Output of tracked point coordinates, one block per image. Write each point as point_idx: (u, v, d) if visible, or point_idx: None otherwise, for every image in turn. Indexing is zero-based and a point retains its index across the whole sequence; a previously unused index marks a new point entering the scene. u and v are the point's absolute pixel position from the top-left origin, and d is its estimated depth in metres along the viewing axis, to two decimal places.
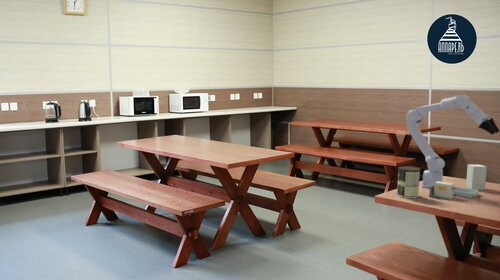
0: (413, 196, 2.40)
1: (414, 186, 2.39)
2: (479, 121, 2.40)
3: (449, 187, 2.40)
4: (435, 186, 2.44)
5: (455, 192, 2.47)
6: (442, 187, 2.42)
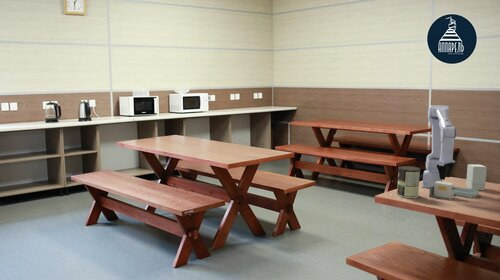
0: (413, 196, 2.40)
1: (414, 186, 2.39)
2: (441, 163, 2.37)
3: (449, 187, 2.40)
4: (435, 186, 2.44)
5: (455, 192, 2.47)
6: (442, 188, 2.42)
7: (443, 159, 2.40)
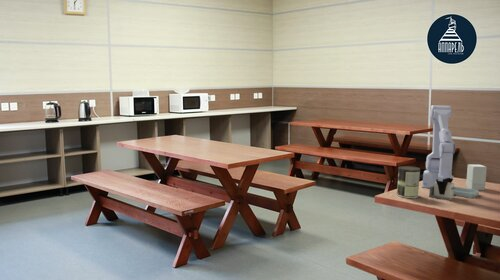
0: (413, 196, 2.40)
1: (414, 186, 2.39)
2: (440, 178, 2.38)
3: (449, 187, 2.40)
4: (435, 186, 2.44)
5: (455, 192, 2.47)
6: None
7: (442, 174, 2.41)
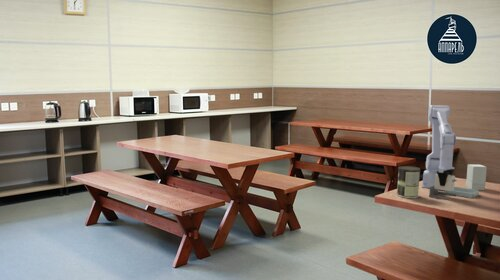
0: (413, 196, 2.40)
1: (414, 186, 2.39)
2: (440, 170, 2.37)
3: (450, 179, 2.39)
4: (436, 178, 2.44)
5: (455, 192, 2.47)
6: None
7: (442, 166, 2.41)
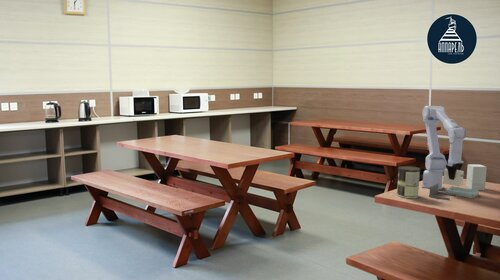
0: (413, 196, 2.40)
1: (414, 186, 2.39)
2: (450, 163, 2.39)
3: (459, 174, 2.42)
4: (445, 173, 2.46)
5: (455, 192, 2.47)
6: None
7: (452, 159, 2.43)
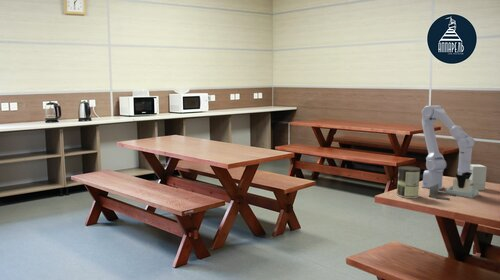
0: (413, 196, 2.40)
1: (414, 186, 2.39)
2: (459, 172, 2.43)
3: (468, 183, 2.46)
4: (454, 182, 2.50)
5: (455, 192, 2.47)
6: None
7: (461, 168, 2.47)
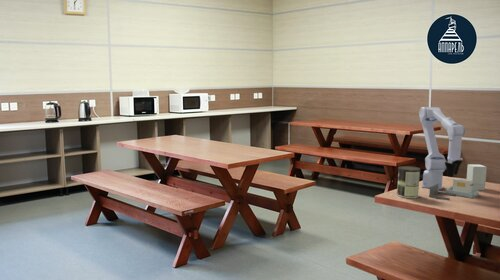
0: (413, 196, 2.40)
1: (414, 186, 2.39)
2: (449, 160, 2.41)
3: (468, 183, 2.46)
4: (454, 182, 2.50)
5: (455, 192, 2.47)
6: (460, 184, 2.48)
7: (451, 156, 2.45)
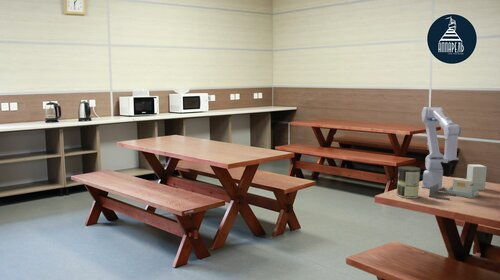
0: (413, 196, 2.40)
1: (414, 186, 2.39)
2: (445, 160, 2.41)
3: (468, 183, 2.46)
4: (454, 182, 2.50)
5: (455, 192, 2.47)
6: (460, 184, 2.48)
7: (447, 156, 2.45)
